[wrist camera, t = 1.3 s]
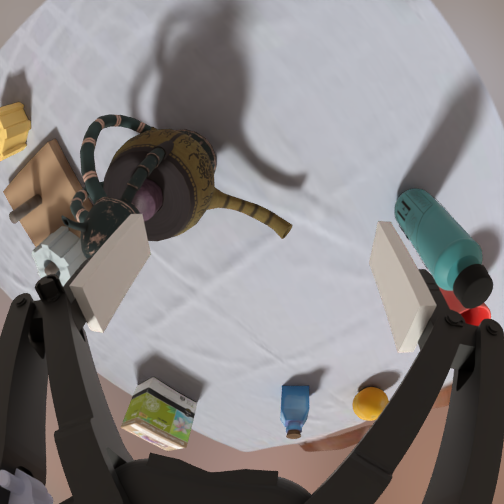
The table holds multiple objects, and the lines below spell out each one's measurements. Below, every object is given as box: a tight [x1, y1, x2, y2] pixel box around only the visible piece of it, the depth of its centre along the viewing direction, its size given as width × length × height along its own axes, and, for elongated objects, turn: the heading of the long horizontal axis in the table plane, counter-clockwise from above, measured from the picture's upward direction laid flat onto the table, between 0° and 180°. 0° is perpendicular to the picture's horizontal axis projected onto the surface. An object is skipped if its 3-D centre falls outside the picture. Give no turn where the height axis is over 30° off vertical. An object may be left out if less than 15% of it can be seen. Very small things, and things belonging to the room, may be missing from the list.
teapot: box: [61, 115, 293, 259], centre depth 29 cm, size 12×25×23 cm, turn 63°
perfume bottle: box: [280, 386, 309, 439], centre depth 59 cm, size 6×6×12 cm
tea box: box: [121, 377, 197, 451], centre depth 66 cm, size 15×10×15 cm, turn 45°
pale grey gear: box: [32, 226, 87, 286], centre depth 43 cm, size 10×9×6 cm
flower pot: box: [436, 284, 491, 326], centre depth 41 cm, size 11×11×10 cm
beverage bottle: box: [394, 188, 493, 309], centre depth 29 cm, size 6×7×20 cm
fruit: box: [353, 387, 389, 421], centre depth 59 cm, size 9×8×8 cm
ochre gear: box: [0, 102, 31, 161], centre depth 33 cm, size 10×9×6 cm
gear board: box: [3, 139, 93, 275], centre depth 41 cm, size 24×18×9 cm
